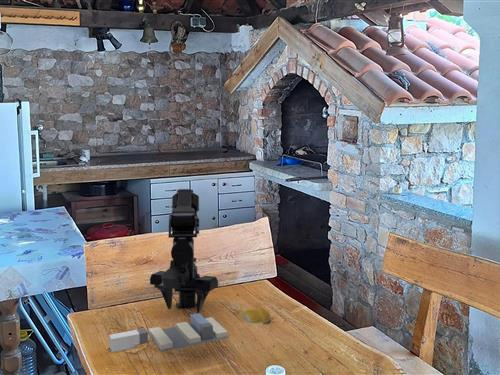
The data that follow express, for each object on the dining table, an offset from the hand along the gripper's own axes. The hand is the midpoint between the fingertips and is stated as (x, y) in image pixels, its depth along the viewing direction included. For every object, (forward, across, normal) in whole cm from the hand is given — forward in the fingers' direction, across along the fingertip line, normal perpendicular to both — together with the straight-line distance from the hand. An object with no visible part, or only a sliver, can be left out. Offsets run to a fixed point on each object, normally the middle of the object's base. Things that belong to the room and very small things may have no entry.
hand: (183, 310), depth 158 cm
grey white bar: (+12, -17, -2) cm, 21 cm away
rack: (+12, -4, +10) cm, 16 cm away
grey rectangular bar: (+10, -1, +13) cm, 17 cm away
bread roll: (+11, +10, +30) cm, 33 cm away
